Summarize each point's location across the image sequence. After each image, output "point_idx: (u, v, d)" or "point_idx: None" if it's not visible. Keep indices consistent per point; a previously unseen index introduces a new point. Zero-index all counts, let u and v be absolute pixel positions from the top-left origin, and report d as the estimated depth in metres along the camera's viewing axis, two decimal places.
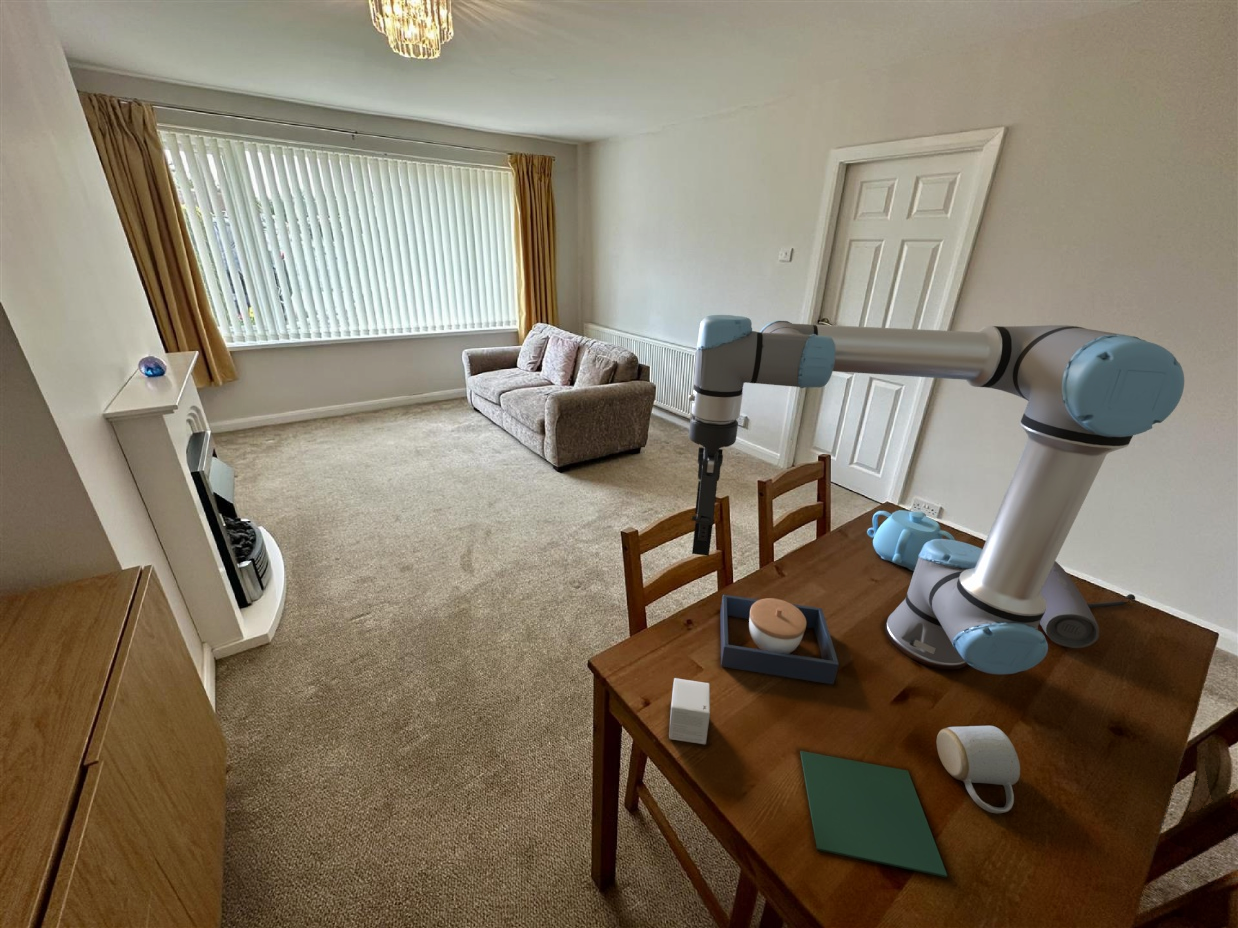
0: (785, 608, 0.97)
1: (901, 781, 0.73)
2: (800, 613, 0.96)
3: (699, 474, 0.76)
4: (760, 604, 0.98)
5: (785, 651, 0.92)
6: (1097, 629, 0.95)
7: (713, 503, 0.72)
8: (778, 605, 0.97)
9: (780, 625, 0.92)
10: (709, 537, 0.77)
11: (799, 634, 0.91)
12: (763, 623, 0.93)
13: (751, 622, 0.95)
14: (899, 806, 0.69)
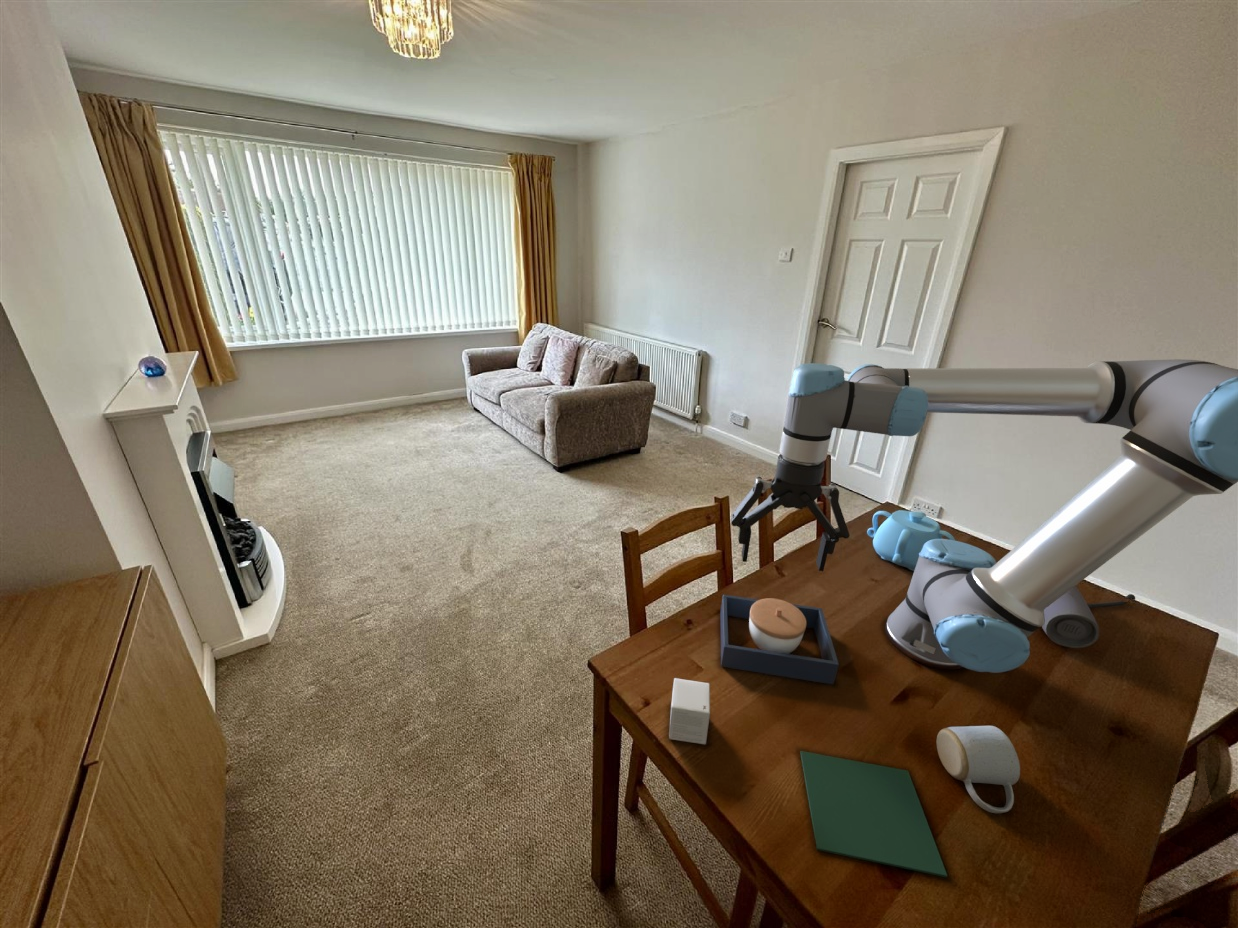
0: (785, 608, 0.97)
1: (901, 781, 0.73)
2: (800, 613, 0.96)
3: (770, 495, 0.86)
4: (760, 604, 0.98)
5: (785, 651, 0.92)
6: (1097, 629, 0.95)
7: (740, 510, 0.86)
8: (778, 605, 0.97)
9: (780, 625, 0.92)
10: (744, 545, 0.88)
11: (799, 634, 0.91)
12: (763, 623, 0.93)
13: (751, 622, 0.95)
14: (899, 806, 0.69)
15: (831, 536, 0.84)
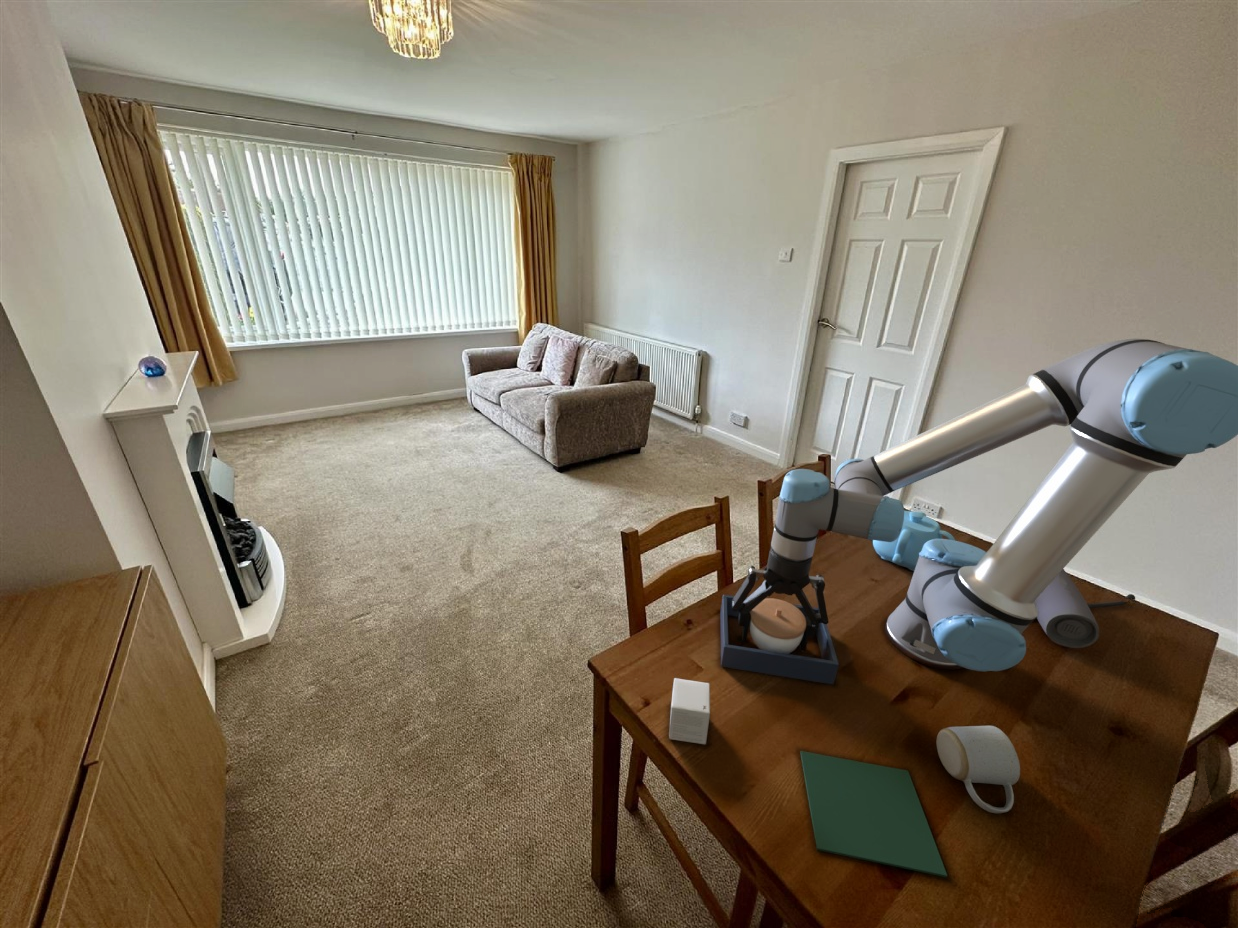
0: (785, 608, 0.97)
1: (901, 781, 0.73)
2: (799, 613, 0.96)
3: (764, 581, 0.94)
4: (760, 604, 0.98)
5: (785, 651, 0.92)
6: (1097, 629, 0.95)
7: (738, 597, 0.94)
8: (778, 605, 0.97)
9: (780, 625, 0.92)
10: (744, 627, 0.96)
11: (799, 634, 0.91)
12: (763, 623, 0.93)
13: (751, 622, 0.95)
14: (899, 806, 0.69)
15: (812, 621, 0.93)
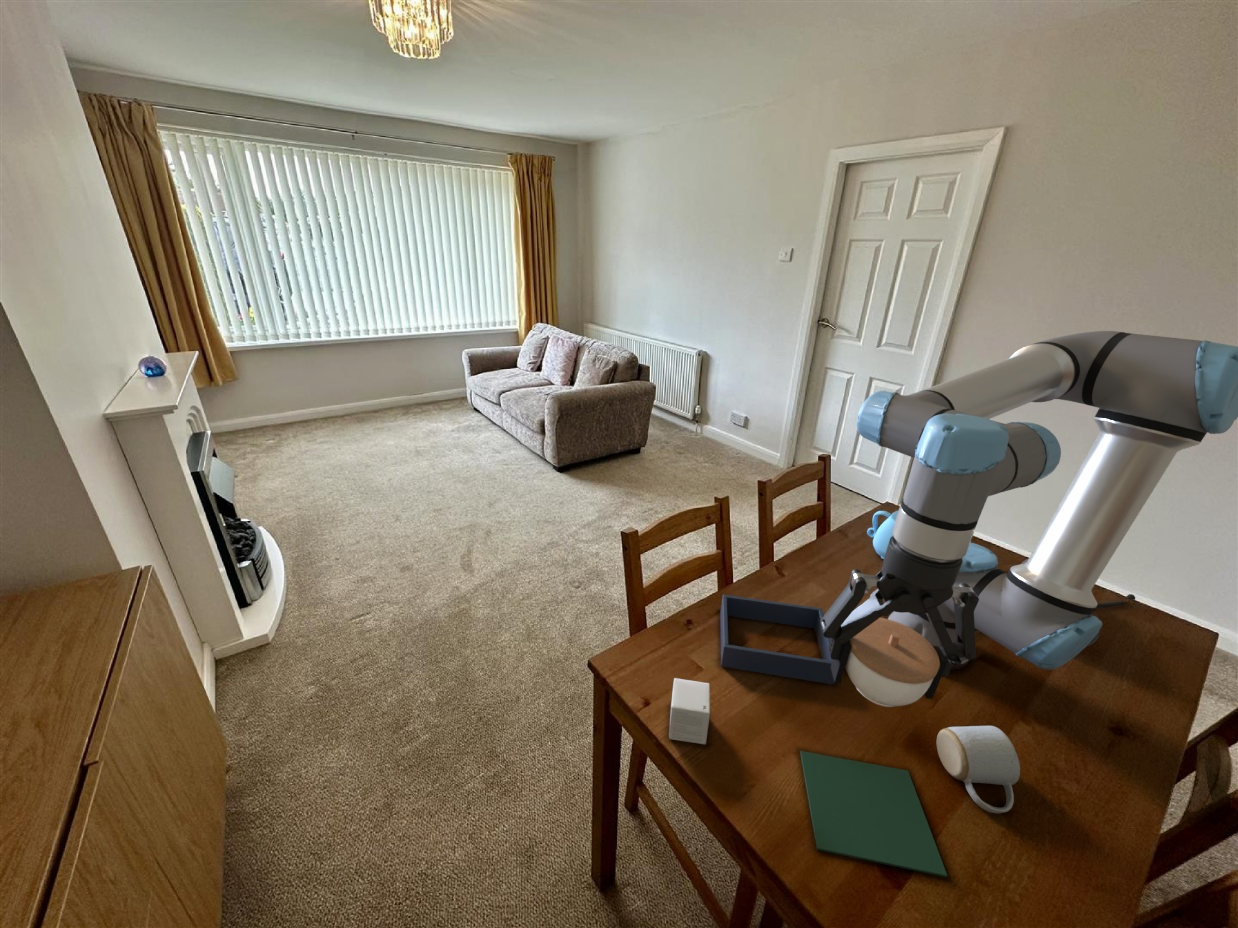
0: (900, 633, 0.64)
1: (901, 781, 0.73)
2: (924, 640, 0.63)
3: (873, 593, 0.62)
4: None
5: (908, 701, 0.60)
6: None
7: (834, 617, 0.61)
8: (889, 628, 0.65)
9: (901, 661, 0.60)
10: (839, 661, 0.64)
11: (933, 676, 0.59)
12: (874, 657, 0.60)
13: (852, 654, 0.63)
14: (899, 806, 0.69)
15: (949, 655, 0.60)
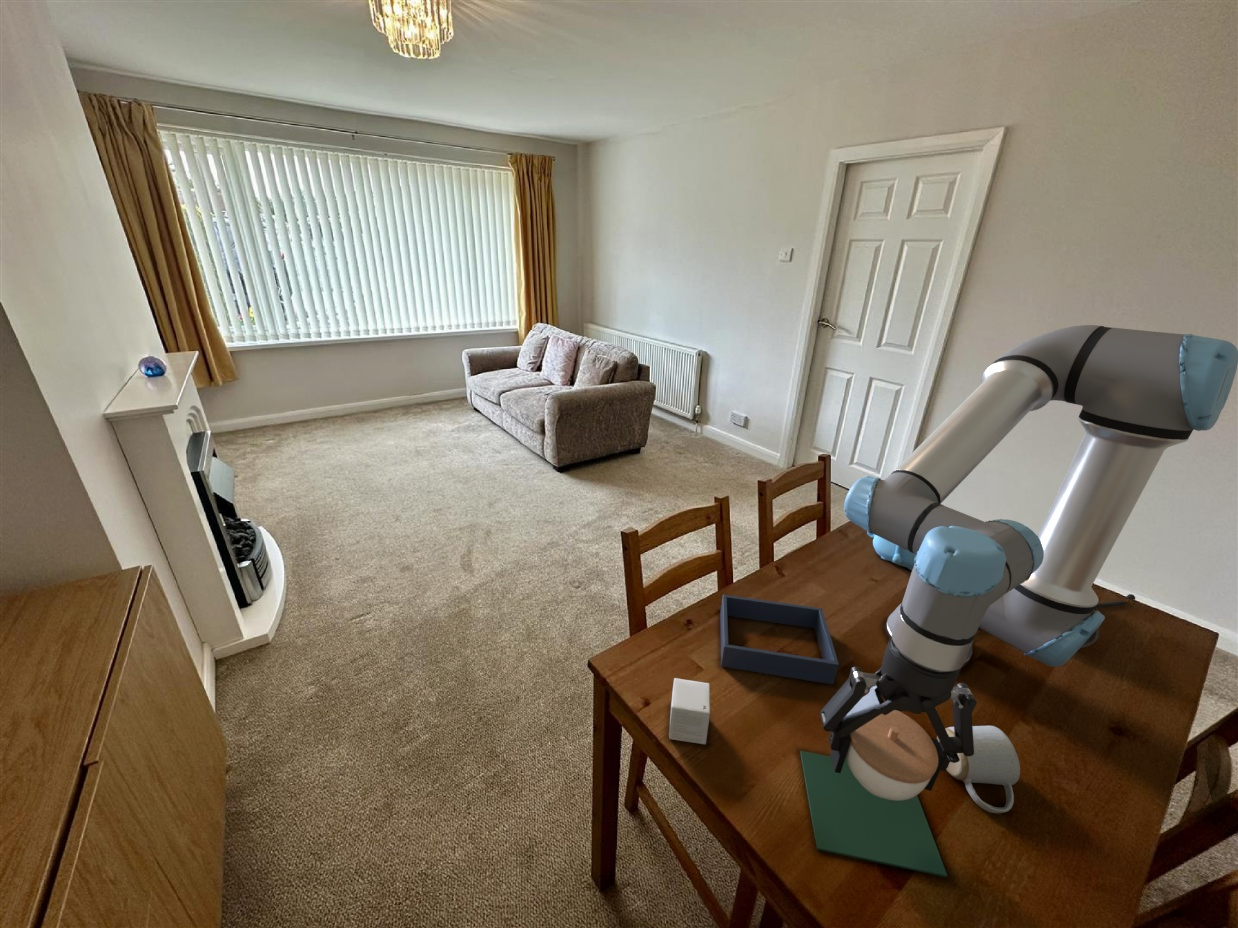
0: (899, 724, 0.65)
1: None
2: (923, 732, 0.64)
3: (872, 688, 0.63)
4: None
5: (908, 797, 0.61)
6: (1097, 629, 0.95)
7: (834, 712, 0.62)
8: (888, 718, 0.66)
9: (901, 758, 0.61)
10: (839, 753, 0.65)
11: (932, 774, 0.59)
12: (874, 754, 0.61)
13: (852, 748, 0.63)
14: (899, 806, 0.69)
15: (948, 752, 0.61)
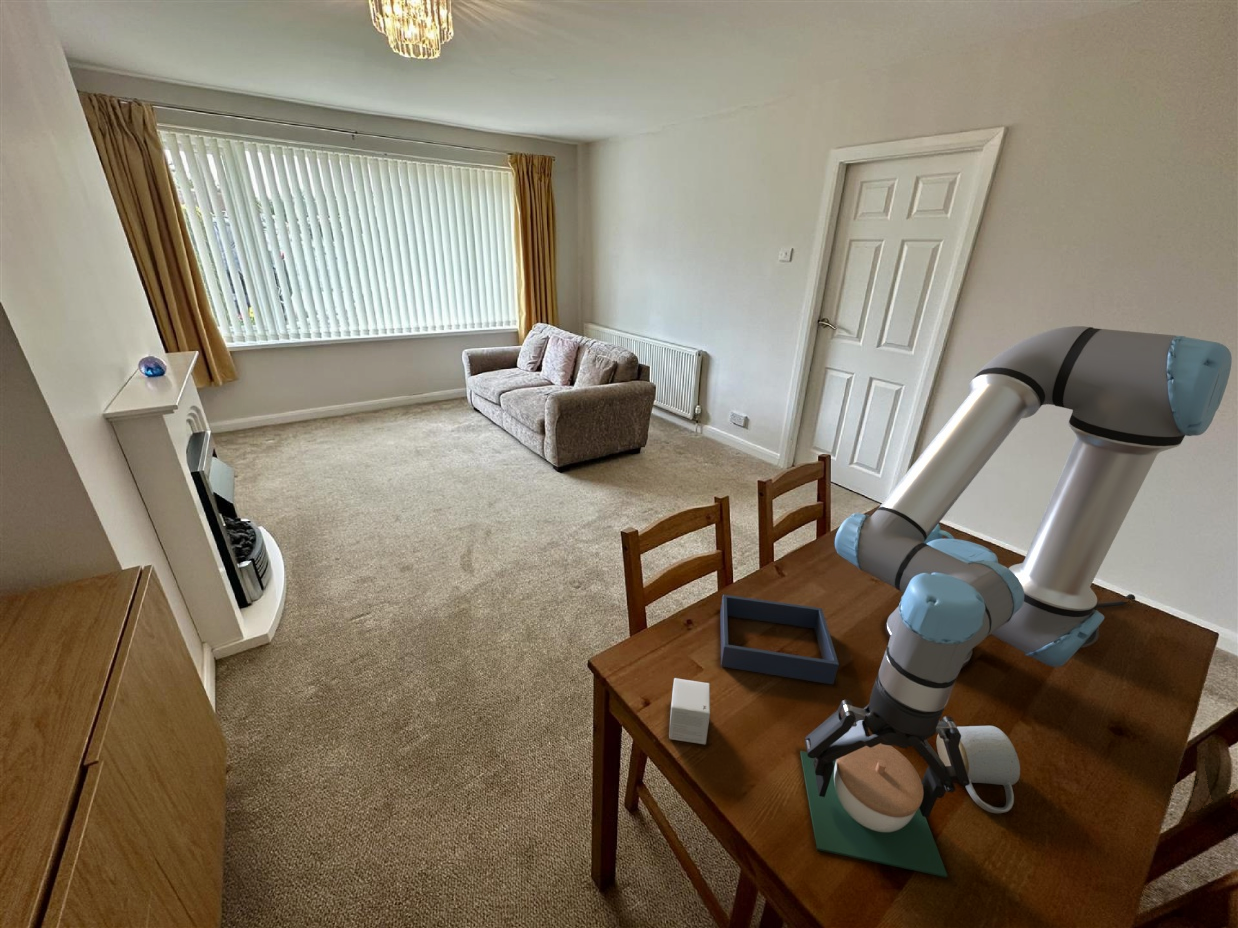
0: (887, 757, 0.68)
1: None
2: (909, 765, 0.67)
3: (859, 720, 0.65)
4: None
5: (894, 830, 0.63)
6: (1097, 629, 0.95)
7: (820, 741, 0.65)
8: (876, 750, 0.69)
9: (887, 792, 0.63)
10: (823, 778, 0.67)
11: (917, 808, 0.62)
12: (862, 788, 0.64)
13: (841, 781, 0.66)
14: None
15: (944, 781, 0.63)
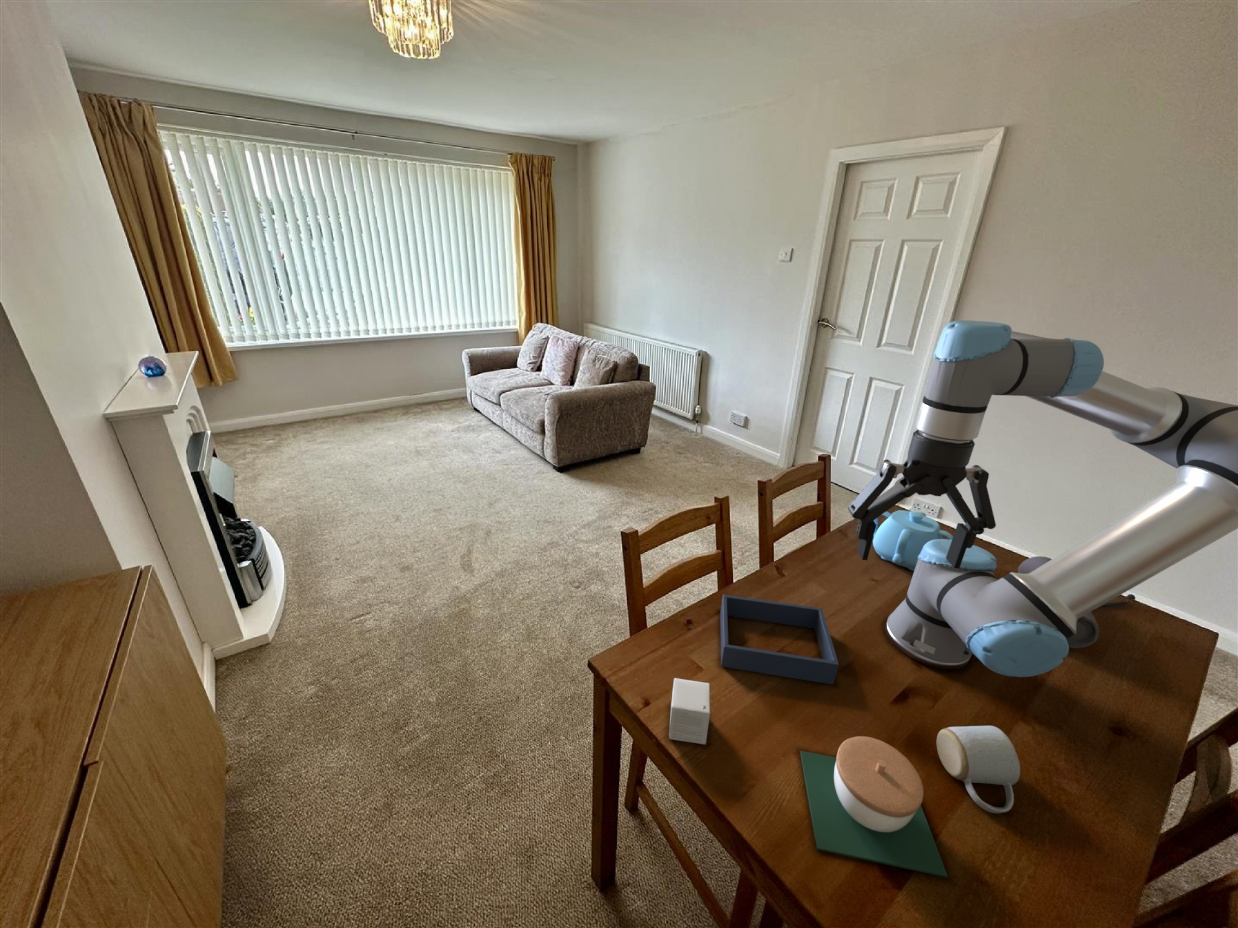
0: (887, 757, 0.68)
1: None
2: (909, 765, 0.67)
3: (897, 481, 0.73)
4: (849, 748, 0.69)
5: (894, 830, 0.63)
6: (1097, 629, 0.95)
7: (864, 499, 0.73)
8: (876, 750, 0.69)
9: (887, 792, 0.63)
10: (866, 540, 0.75)
11: (917, 808, 0.62)
12: (862, 788, 0.64)
13: (841, 781, 0.66)
14: None
15: (973, 527, 0.72)
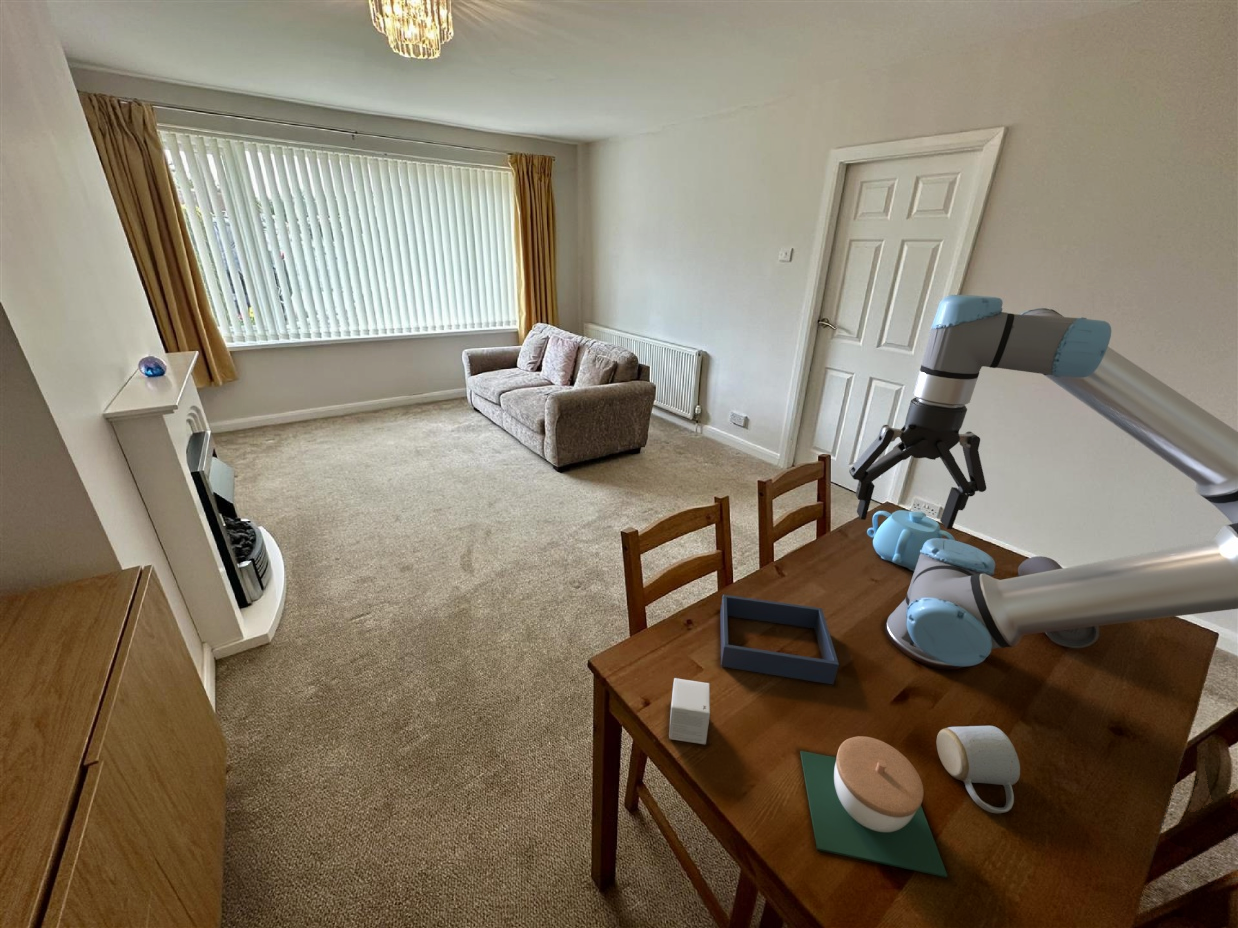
0: (887, 757, 0.68)
1: None
2: (909, 765, 0.67)
3: (895, 446, 0.79)
4: (849, 748, 0.69)
5: (894, 830, 0.63)
6: (1097, 629, 0.95)
7: (864, 461, 0.79)
8: (876, 750, 0.69)
9: (887, 792, 0.63)
10: (865, 500, 0.81)
11: (917, 808, 0.62)
12: (862, 788, 0.64)
13: (841, 781, 0.66)
14: None
15: (965, 490, 0.77)
